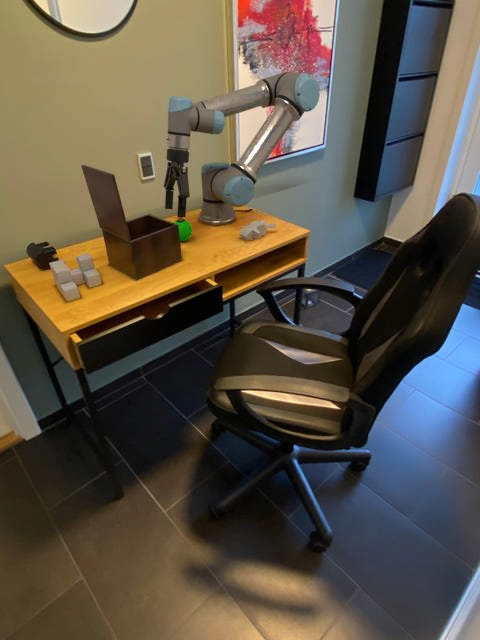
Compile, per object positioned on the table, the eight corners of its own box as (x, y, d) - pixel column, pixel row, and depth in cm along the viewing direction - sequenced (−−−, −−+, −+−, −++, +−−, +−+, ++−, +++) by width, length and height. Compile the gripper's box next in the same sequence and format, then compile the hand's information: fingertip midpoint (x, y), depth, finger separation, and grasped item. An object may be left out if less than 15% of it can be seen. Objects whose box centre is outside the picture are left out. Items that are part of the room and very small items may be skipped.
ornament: (186, 234, 158) (184, 210, 152) (197, 241, 152) (195, 216, 146) (168, 239, 154) (165, 214, 148) (178, 246, 148) (175, 220, 143)
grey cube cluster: (67, 301, 117) (60, 278, 112) (55, 285, 125) (48, 262, 120) (106, 289, 122) (101, 266, 118) (93, 274, 130) (88, 252, 126)
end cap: (29, 262, 138) (23, 244, 134) (50, 256, 142) (45, 238, 138) (39, 272, 132) (33, 253, 128) (61, 266, 136) (55, 247, 132)
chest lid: (83, 164, 116) (80, 165, 116) (114, 174, 107) (111, 175, 107) (102, 227, 129) (100, 228, 128) (131, 240, 120) (128, 241, 119)
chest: (153, 247, 148) (149, 213, 140) (182, 260, 139) (178, 224, 131) (109, 264, 136) (101, 229, 129) (136, 280, 127) (130, 242, 120)
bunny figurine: (233, 227, 153) (261, 213, 160) (235, 239, 156) (261, 225, 163) (251, 234, 147) (278, 219, 154) (252, 246, 150) (278, 231, 158)
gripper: (156, 144, 141) (154, 205, 150) (180, 151, 122) (176, 220, 131) (176, 147, 145) (173, 206, 154) (202, 153, 125) (197, 221, 134)
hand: (174, 213), depth 142 cm, fingers open, 13 cm apart
